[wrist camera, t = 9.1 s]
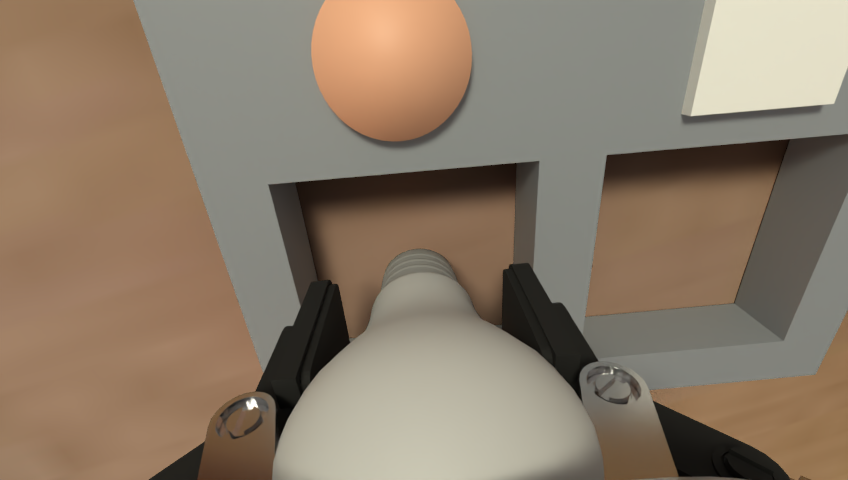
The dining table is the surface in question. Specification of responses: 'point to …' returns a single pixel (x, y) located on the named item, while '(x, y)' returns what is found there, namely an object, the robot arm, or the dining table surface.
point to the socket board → (525, 143)
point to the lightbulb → (436, 397)
